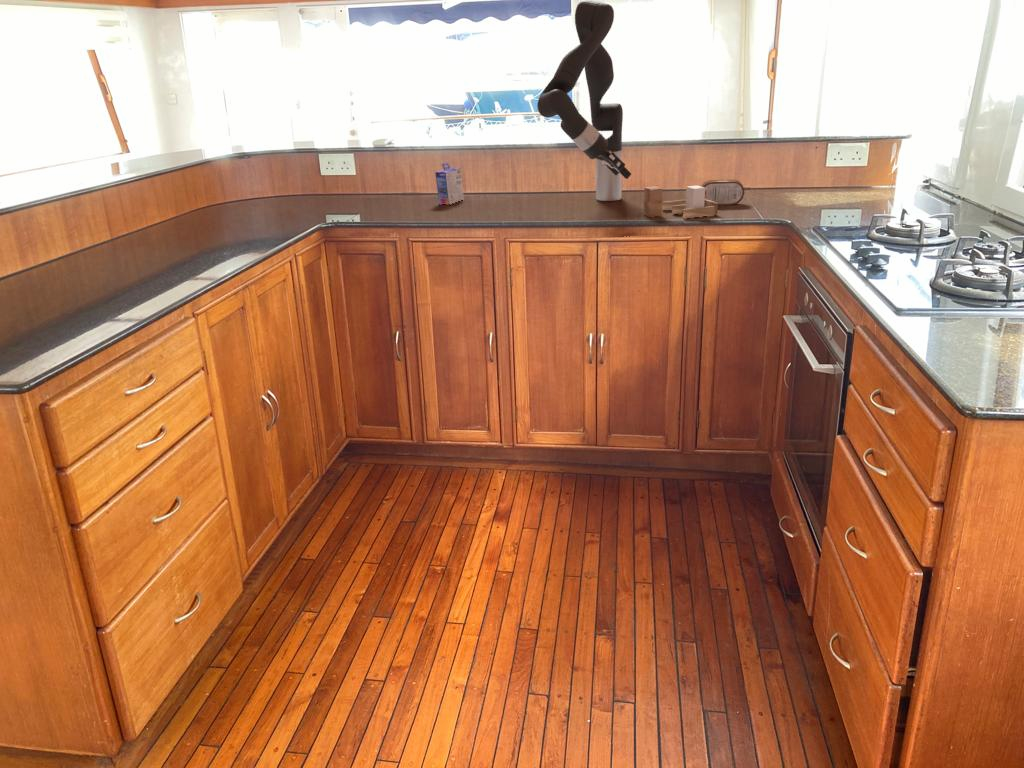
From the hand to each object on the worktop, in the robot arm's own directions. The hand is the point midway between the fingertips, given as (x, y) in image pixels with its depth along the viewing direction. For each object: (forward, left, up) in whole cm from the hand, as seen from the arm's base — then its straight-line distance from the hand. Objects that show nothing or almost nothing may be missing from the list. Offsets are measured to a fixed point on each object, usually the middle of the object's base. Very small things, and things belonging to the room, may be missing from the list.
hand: (623, 174), depth 255 cm
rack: (+2, +23, -14) cm, 27 cm away
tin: (-5, +39, -14) cm, 41 cm away
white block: (+6, +23, -14) cm, 27 cm away
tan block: (0, +11, -14) cm, 18 cm away
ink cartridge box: (-60, -44, -14) cm, 76 cm away
